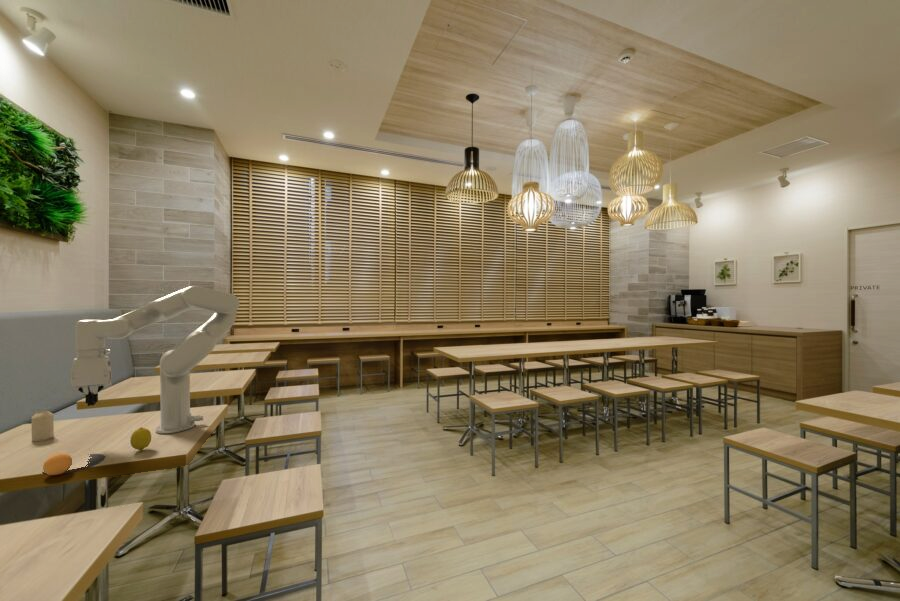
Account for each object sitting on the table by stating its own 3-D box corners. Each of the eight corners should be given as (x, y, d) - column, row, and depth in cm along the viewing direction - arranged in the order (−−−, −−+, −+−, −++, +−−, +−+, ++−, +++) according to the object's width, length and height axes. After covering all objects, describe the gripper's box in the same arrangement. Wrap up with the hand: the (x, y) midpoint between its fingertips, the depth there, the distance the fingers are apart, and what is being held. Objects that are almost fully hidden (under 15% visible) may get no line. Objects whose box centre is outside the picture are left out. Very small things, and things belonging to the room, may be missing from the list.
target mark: (110, 451, 127) (110, 450, 127) (98, 467, 115) (98, 466, 115) (52, 460, 120) (52, 460, 120) (33, 479, 108) (33, 478, 108)
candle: (28, 442, 135) (27, 415, 134) (37, 437, 140) (36, 410, 139) (48, 440, 137) (48, 413, 137) (57, 434, 142) (56, 408, 142)
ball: (66, 454, 110) (63, 475, 109) (77, 450, 115) (75, 470, 114) (39, 457, 108) (36, 479, 107) (52, 452, 113) (49, 473, 112)
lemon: (139, 454, 124) (139, 430, 124) (126, 453, 126) (126, 429, 125) (155, 447, 130) (155, 425, 130) (142, 446, 131) (142, 424, 131)
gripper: (120, 350, 140) (121, 399, 141) (65, 354, 132) (66, 405, 133) (116, 353, 134) (116, 404, 134) (58, 357, 126) (58, 410, 126)
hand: (91, 404), depth 133 cm, fingers closed
